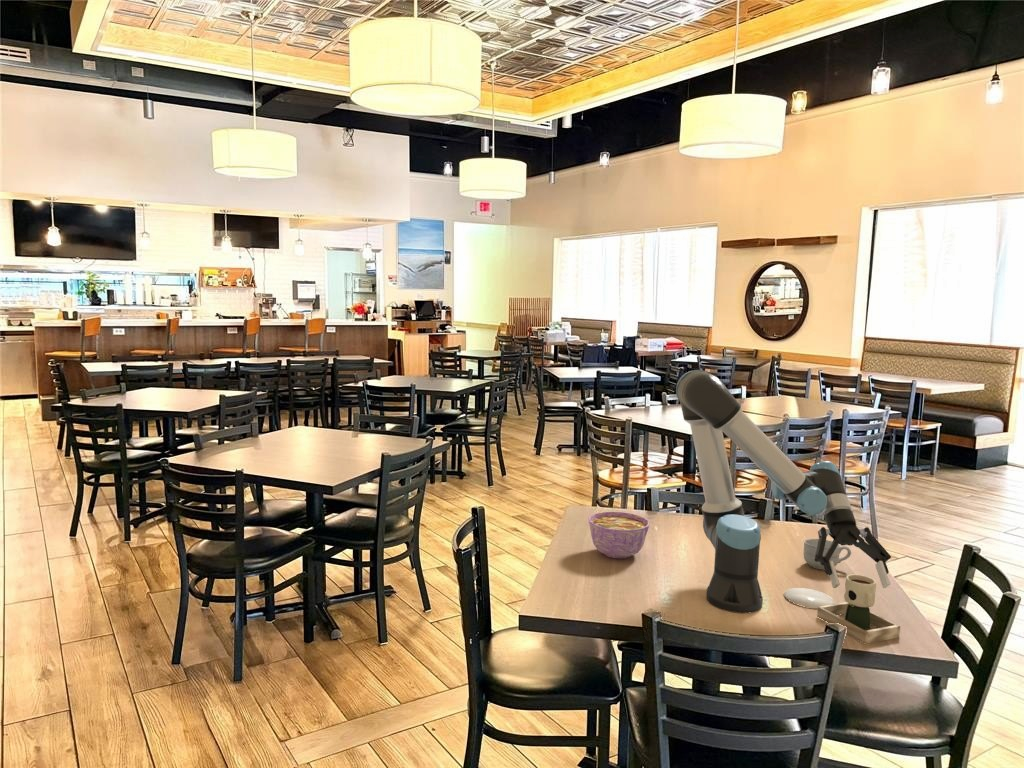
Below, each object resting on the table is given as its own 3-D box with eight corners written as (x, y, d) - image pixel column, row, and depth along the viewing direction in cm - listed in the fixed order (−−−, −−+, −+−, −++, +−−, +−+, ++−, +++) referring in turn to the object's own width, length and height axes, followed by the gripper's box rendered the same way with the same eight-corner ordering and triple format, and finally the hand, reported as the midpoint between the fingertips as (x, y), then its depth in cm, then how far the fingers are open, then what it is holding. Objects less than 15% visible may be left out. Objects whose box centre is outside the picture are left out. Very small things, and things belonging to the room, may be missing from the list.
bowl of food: (660, 561, 228) (661, 526, 226) (605, 568, 220) (607, 532, 219) (627, 541, 246) (629, 509, 245) (576, 547, 239) (577, 514, 237)
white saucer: (807, 611, 193) (807, 609, 193) (774, 592, 205) (774, 590, 205) (844, 605, 197) (844, 603, 197) (809, 587, 209) (809, 585, 209)
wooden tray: (864, 644, 175) (865, 632, 174) (817, 617, 189) (817, 606, 189) (899, 637, 179) (900, 626, 178) (850, 611, 193) (850, 601, 193)
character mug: (833, 617, 189) (837, 571, 188) (860, 618, 189) (864, 571, 188) (853, 636, 179) (857, 587, 177) (881, 637, 179) (885, 588, 177)
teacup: (800, 568, 225) (802, 544, 224) (803, 558, 234) (805, 534, 233) (848, 577, 218) (850, 552, 217) (850, 566, 228) (852, 542, 227)
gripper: (874, 519, 203) (900, 591, 190) (790, 519, 202) (810, 591, 189) (887, 507, 197) (914, 580, 184) (799, 507, 196) (821, 581, 183)
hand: (861, 586), depth 187 cm, fingers open, 13 cm apart
